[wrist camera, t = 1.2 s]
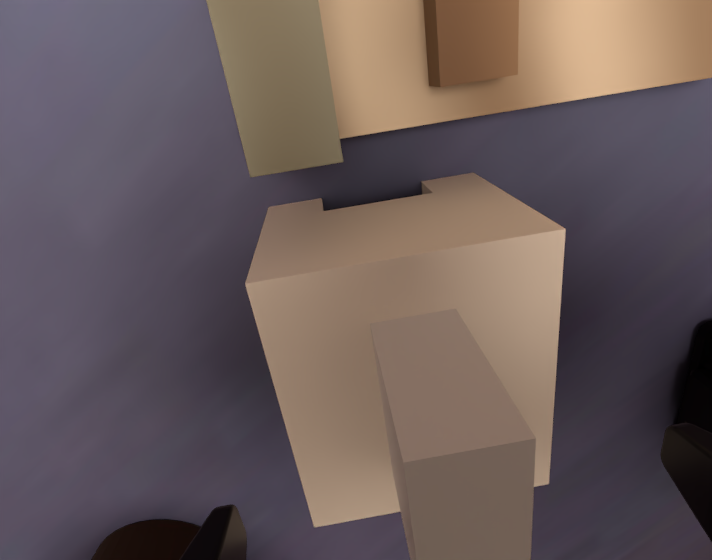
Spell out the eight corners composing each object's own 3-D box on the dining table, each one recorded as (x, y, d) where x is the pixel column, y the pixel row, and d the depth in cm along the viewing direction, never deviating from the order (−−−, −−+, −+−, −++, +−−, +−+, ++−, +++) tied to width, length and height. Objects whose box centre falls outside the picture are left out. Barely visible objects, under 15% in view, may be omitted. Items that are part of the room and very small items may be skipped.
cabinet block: (473, 172, 15) (721, 323, 6) (478, 363, 18) (640, 641, 9) (268, 206, 15) (204, 415, 6) (312, 392, 18) (315, 704, 9)
